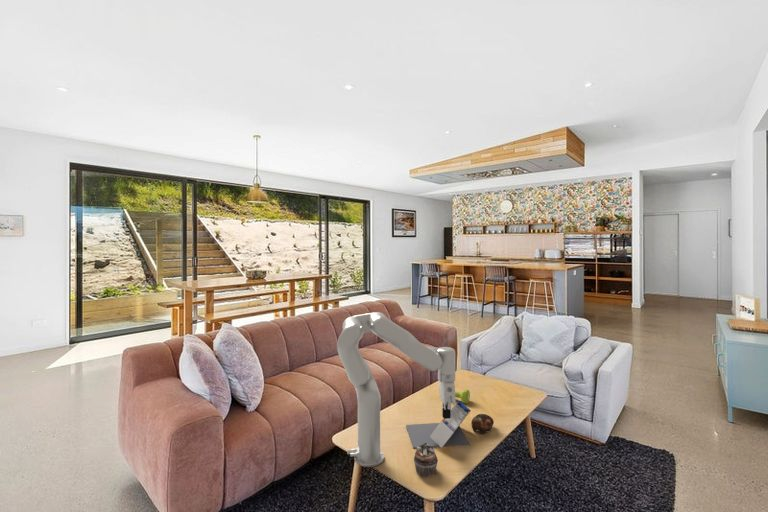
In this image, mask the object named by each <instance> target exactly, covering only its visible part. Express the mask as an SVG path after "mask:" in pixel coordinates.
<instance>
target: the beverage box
mask: <svg viewBox="0 0 768 512" xmlns="http://www.w3.org/2000/svg"><path fill="white" fill-rule="evenodd" d="M471 411H472V410H471V409H470V408H469V407H468V406H466V404H465V403H463V402H462V400H461V401H460V400H459V401H458V402H457V403H456V404H455V405H454V406H453V407H451V418H446V419H444V418H443V417H442V419H441V421H440V422H438V423H439V425H438V426H437V427H436V429H435V430H434V431H433V433H432V434H431V435H430V437H431V438H432V439H433V440H434V441H435V442H436V443H437V444H438V445H439V446H440V447H439V448H440V449H443V446H444V444H445V443H446V442H447V441H448V439H449V438H450V437H451V436H452V434H453V433H454V432H455V430H456V429H457V428H458V427H459V426H461V424H462V423H463V422H464V420H465V419H466V418H467V416H468V415H469V414H470V412H471Z"/></svg>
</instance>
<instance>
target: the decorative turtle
mask: <svg viewBox="0 0 768 512" xmlns="http://www.w3.org/2000/svg"><path fill="white" fill-rule="evenodd" d="M494 423H495V422H494V418H492V417H491V416H490V415H488V414H485V413H478V414H476V415H475V416H474V417H473V418H472V420H471V423H470V424H471V428H472V430H473V432H476V431H479V432H480V434H481V435H486V433H487V432H488V433H490V432H491V429H492V428H493V426H494Z"/></svg>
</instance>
